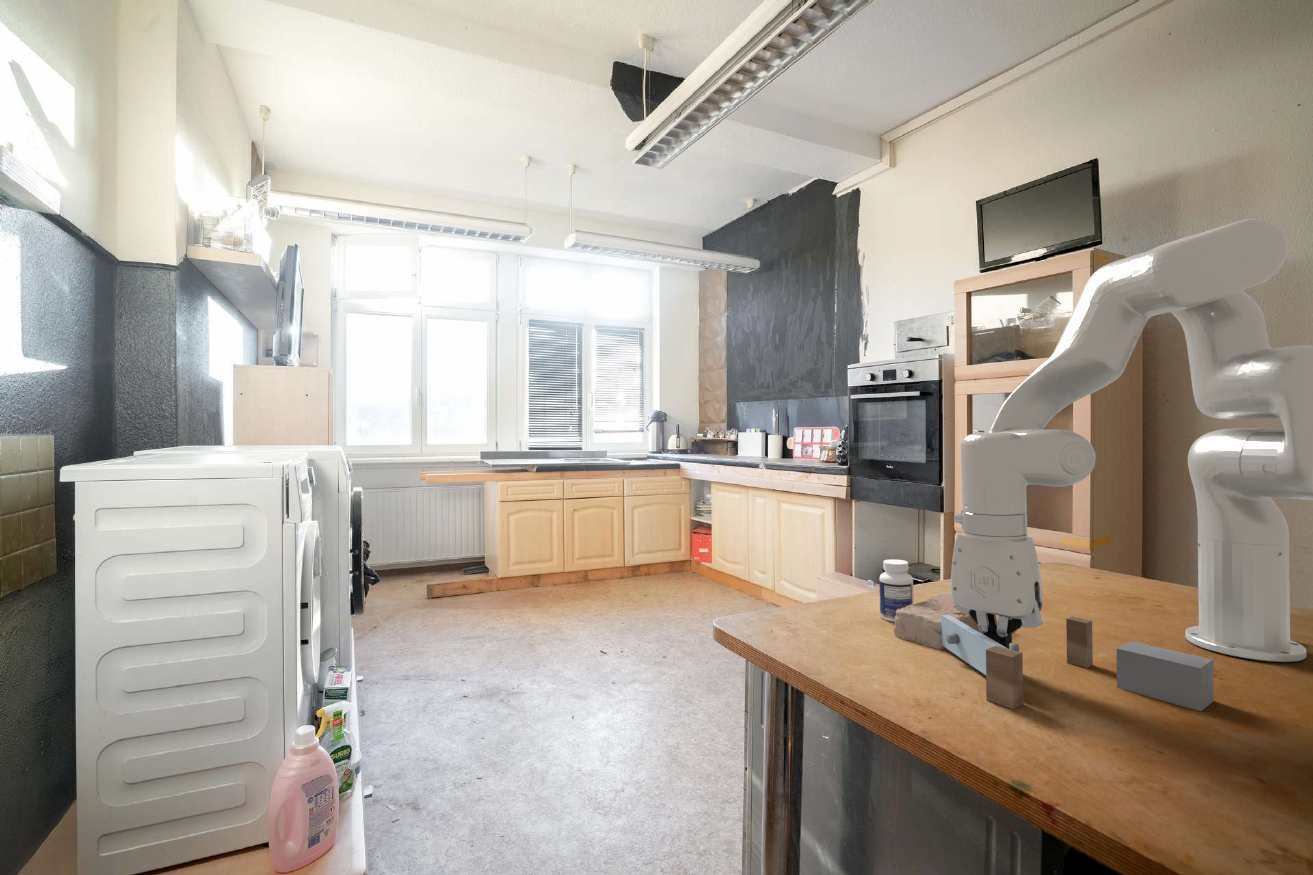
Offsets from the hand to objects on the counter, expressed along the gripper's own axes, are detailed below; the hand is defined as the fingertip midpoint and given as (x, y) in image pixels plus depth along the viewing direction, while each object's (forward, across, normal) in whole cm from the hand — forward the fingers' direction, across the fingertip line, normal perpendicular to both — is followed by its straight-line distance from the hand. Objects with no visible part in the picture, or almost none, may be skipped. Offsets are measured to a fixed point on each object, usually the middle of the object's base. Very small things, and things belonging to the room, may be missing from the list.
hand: (998, 662), depth 82 cm
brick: (+2, -13, +10) cm, 16 cm away
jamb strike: (+1, +6, +11) cm, 12 cm away
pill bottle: (+1, -22, +10) cm, 24 cm away
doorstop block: (+1, +16, +8) cm, 17 cm away
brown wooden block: (+1, +5, -9) cm, 11 cm away
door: (+1, -2, -3) cm, 4 cm away
